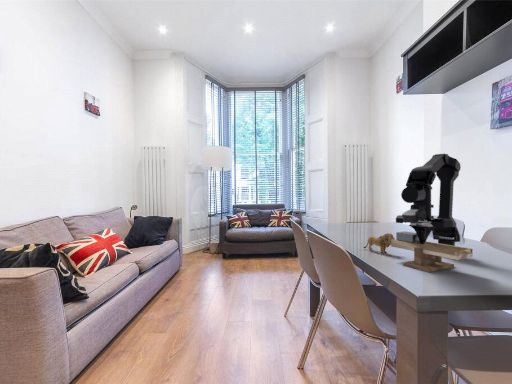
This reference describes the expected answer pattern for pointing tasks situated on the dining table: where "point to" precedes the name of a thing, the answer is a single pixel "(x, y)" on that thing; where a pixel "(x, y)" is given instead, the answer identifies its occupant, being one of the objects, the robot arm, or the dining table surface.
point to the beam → (436, 249)
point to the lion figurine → (380, 242)
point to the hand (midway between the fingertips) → (422, 244)
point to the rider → (407, 237)
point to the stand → (427, 262)
